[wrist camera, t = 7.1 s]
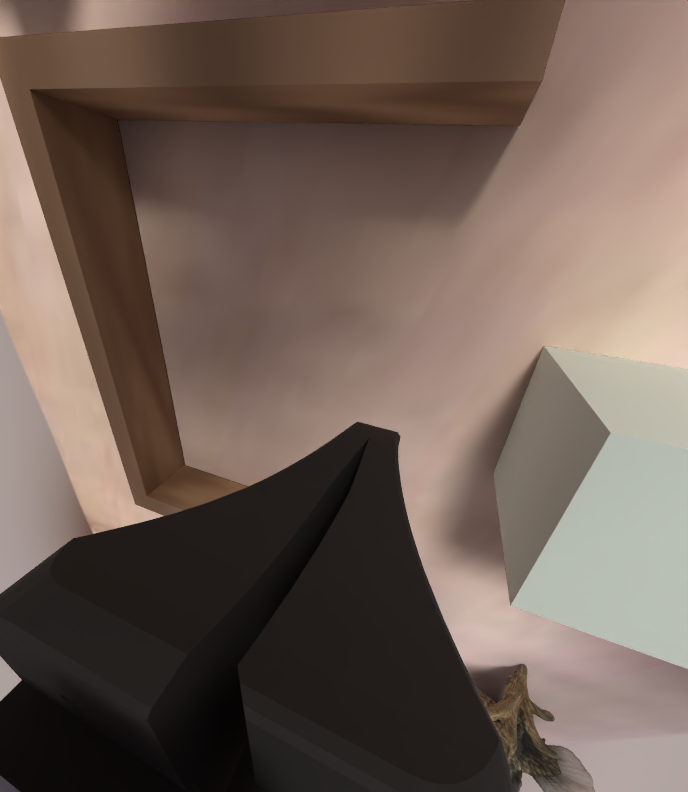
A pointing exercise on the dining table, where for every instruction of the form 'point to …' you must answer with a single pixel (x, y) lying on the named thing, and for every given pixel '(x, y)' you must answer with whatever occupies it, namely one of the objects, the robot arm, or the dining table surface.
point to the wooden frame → (229, 101)
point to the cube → (600, 500)
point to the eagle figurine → (532, 741)
